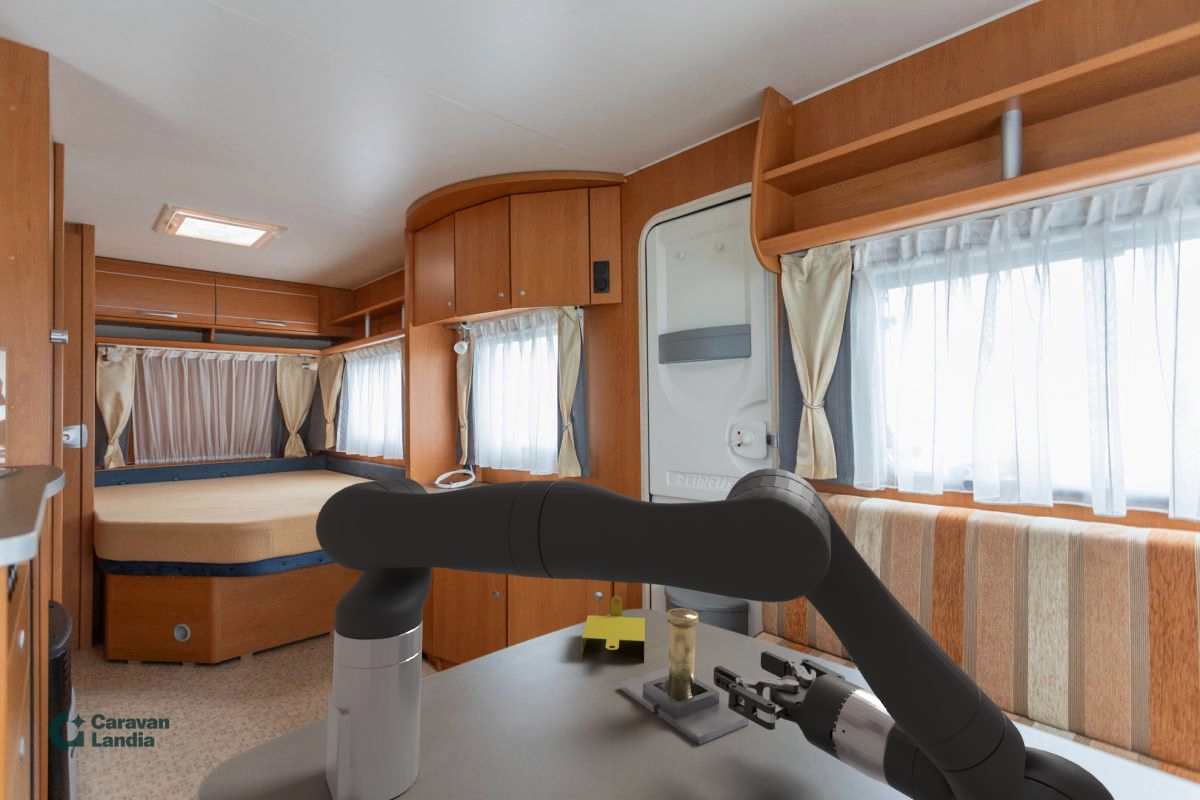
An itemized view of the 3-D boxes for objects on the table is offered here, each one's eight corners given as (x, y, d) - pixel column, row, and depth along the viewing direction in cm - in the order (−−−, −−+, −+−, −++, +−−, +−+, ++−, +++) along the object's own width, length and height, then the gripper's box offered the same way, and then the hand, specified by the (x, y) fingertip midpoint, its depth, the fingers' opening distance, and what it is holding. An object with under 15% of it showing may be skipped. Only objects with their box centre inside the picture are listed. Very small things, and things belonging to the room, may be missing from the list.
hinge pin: (679, 709, 79) (681, 621, 79) (658, 696, 83) (660, 611, 83) (703, 701, 82) (705, 615, 82) (681, 688, 85) (683, 606, 86)
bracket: (563, 623, 93) (574, 593, 108) (562, 672, 93) (573, 636, 108) (661, 629, 92) (659, 598, 107) (660, 678, 92) (658, 640, 107)
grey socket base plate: (699, 745, 73) (699, 725, 73) (619, 688, 87) (619, 671, 87) (748, 724, 78) (748, 705, 78) (665, 674, 92) (665, 658, 92)
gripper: (897, 675, 64) (777, 625, 78) (818, 709, 56) (699, 648, 69) (895, 743, 64) (775, 682, 77) (815, 787, 56) (697, 711, 69)
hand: (739, 666), depth 73 cm, fingers open, 8 cm apart
